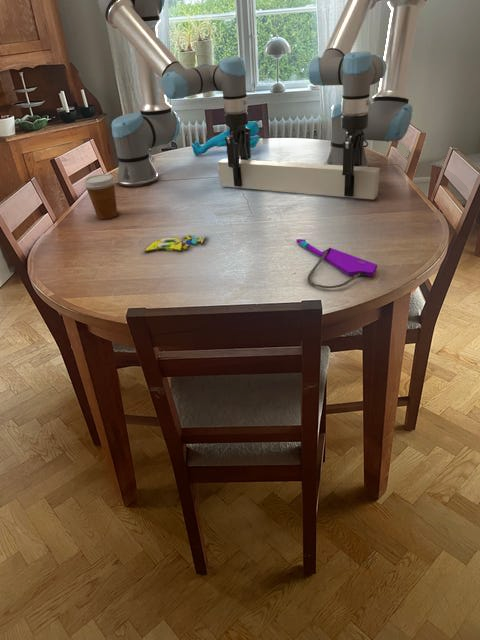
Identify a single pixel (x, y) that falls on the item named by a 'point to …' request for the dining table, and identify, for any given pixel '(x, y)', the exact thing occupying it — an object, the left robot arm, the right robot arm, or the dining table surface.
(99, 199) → the disposable coffee cup
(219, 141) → the toy
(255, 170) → the bar
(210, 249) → the dining table surface
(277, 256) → the dining table surface
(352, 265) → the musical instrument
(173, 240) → the toy
